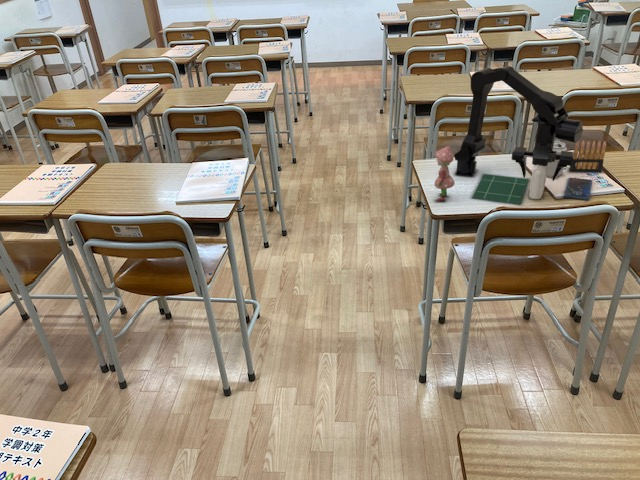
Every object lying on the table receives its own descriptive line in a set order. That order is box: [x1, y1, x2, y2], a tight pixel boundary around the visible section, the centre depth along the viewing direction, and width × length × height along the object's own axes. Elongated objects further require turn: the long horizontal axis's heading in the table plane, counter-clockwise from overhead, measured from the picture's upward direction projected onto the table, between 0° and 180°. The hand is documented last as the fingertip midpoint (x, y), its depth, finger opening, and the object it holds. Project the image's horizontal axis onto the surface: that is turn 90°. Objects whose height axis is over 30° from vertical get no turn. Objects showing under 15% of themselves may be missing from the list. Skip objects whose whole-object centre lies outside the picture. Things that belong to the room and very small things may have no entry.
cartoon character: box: [434, 145, 455, 202], centre depth 168 cm, size 10×7×20 cm
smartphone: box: [564, 177, 593, 201], centre depth 169 cm, size 8×1×15 cm
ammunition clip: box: [568, 140, 607, 173], centre depth 177 cm, size 11×2×12 cm, turn 75°
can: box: [546, 140, 568, 178], centre depth 178 cm, size 8×8×12 cm
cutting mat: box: [471, 173, 529, 205], centre depth 175 cm, size 16×20×1 cm
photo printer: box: [528, 165, 548, 200], centre depth 167 cm, size 10×4×12 cm, turn 152°
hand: (538, 178), depth 167 cm, fingers open, 9 cm apart
